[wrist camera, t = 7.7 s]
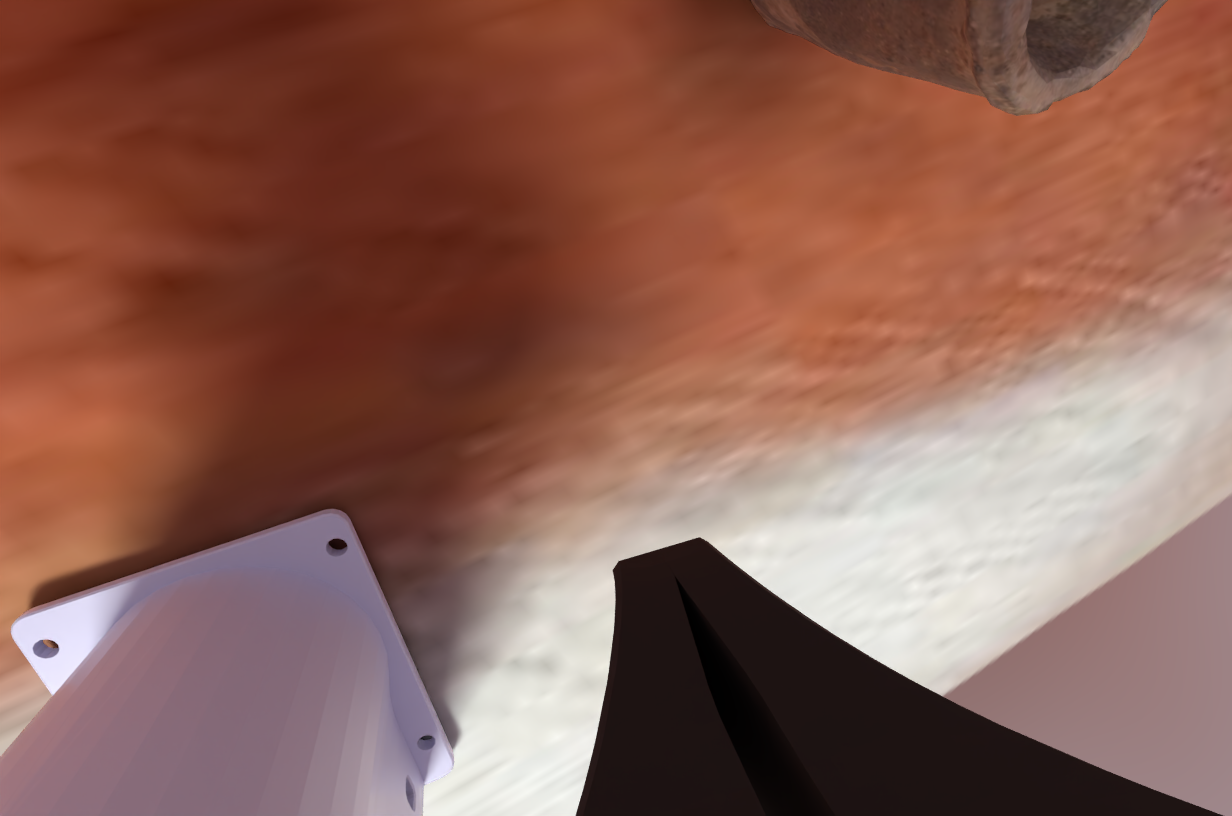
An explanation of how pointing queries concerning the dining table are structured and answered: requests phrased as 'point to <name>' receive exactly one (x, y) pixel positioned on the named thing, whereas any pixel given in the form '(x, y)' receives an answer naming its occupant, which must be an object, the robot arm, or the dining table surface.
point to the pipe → (977, 41)
